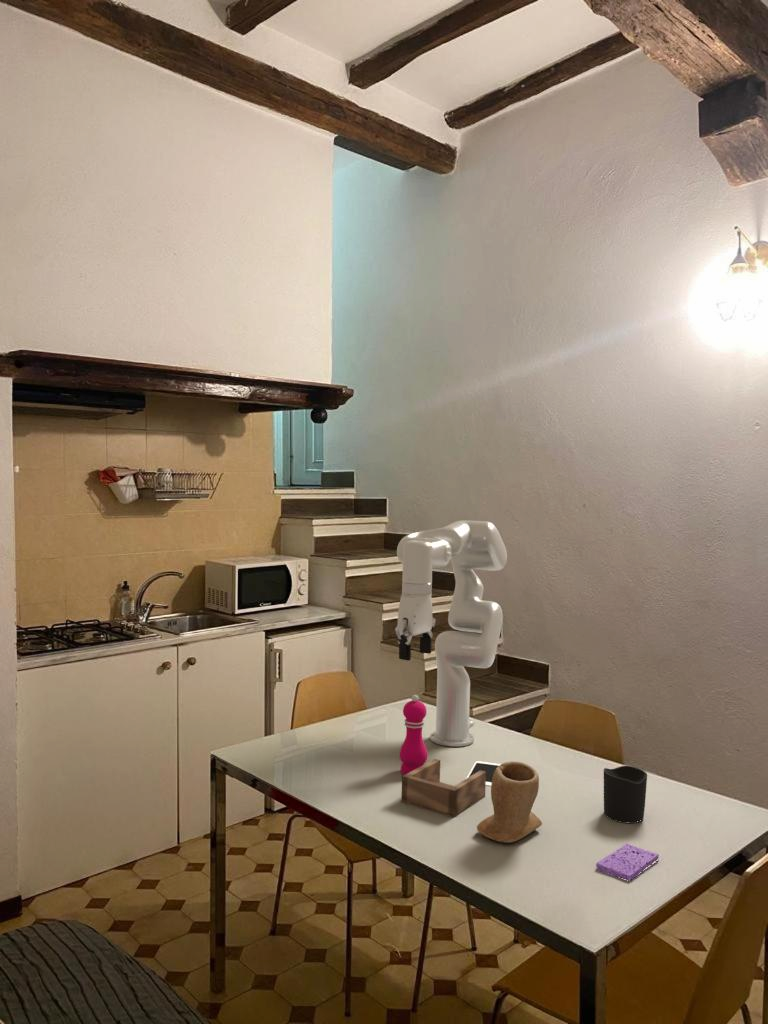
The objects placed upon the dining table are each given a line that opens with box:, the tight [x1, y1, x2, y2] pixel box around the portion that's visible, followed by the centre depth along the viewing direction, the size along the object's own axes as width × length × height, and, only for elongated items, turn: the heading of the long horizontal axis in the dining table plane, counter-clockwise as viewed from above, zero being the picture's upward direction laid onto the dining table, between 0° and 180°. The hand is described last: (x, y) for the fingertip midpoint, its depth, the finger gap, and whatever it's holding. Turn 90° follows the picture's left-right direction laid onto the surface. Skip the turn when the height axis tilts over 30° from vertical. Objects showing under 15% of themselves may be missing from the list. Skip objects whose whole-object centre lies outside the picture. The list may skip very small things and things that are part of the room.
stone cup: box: [476, 761, 543, 844], centre depth 168 cm, size 15×12×15 cm
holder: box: [400, 758, 486, 818], centre depth 186 cm, size 15×14×6 cm
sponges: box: [595, 843, 660, 882], centre depth 156 cm, size 7×13×2 cm, turn 136°
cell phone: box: [465, 760, 502, 787], centre depth 204 cm, size 8×16×1 cm, turn 163°
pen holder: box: [603, 765, 648, 823], centre depth 179 cm, size 9×9×10 cm
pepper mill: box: [398, 694, 429, 776], centre depth 203 cm, size 7×7×20 cm
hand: (415, 656), depth 202 cm, fingers open, 9 cm apart
